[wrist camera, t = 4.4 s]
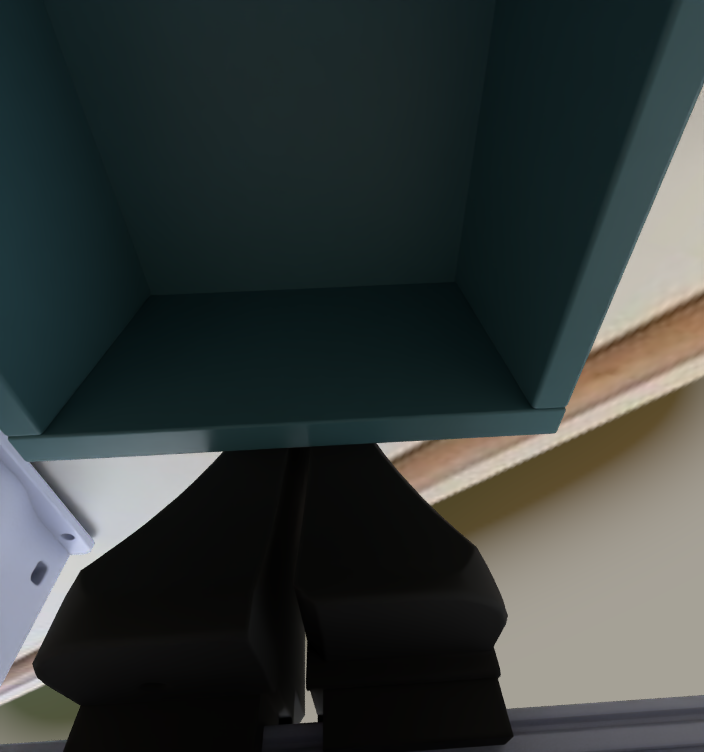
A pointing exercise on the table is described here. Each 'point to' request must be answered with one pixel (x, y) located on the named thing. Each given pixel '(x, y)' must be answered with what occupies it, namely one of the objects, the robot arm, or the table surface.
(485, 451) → the table surface
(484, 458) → the table surface
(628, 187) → the drawer
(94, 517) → the table surface
